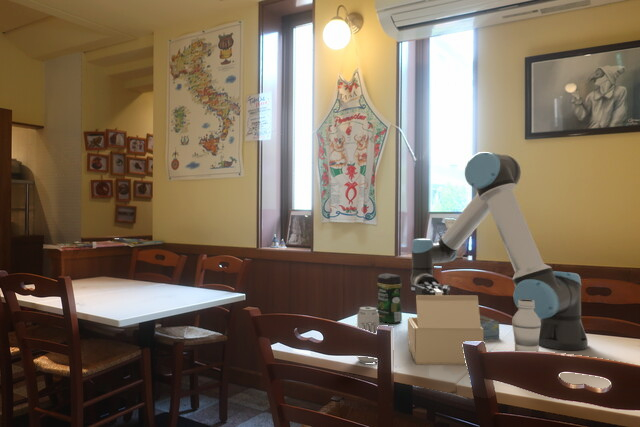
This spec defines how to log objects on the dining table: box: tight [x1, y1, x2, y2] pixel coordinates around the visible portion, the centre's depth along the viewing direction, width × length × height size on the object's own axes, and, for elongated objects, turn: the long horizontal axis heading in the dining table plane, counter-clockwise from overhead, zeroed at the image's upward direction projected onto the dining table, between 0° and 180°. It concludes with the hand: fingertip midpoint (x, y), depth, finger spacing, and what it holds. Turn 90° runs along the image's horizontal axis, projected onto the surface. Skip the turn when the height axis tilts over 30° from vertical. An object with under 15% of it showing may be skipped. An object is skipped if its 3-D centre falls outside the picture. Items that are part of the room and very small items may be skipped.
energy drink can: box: [356, 306, 380, 364], centre depth 134 cm, size 6×6×15 cm
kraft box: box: [407, 317, 484, 366], centre depth 138 cm, size 19×14×10 cm
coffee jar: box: [376, 272, 403, 324], centre depth 187 cm, size 10×8×19 cm
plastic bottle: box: [511, 299, 541, 353], centre depth 118 cm, size 6×7×20 cm
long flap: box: [415, 294, 481, 329], centre depth 133 cm, size 17×9×1 cm
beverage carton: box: [480, 314, 500, 341], centre depth 168 cm, size 8×19×7 cm, turn 15°
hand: (439, 296), depth 142 cm, fingers closed
